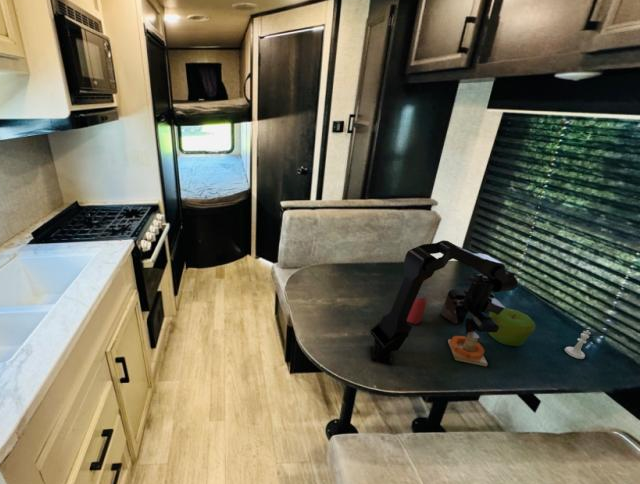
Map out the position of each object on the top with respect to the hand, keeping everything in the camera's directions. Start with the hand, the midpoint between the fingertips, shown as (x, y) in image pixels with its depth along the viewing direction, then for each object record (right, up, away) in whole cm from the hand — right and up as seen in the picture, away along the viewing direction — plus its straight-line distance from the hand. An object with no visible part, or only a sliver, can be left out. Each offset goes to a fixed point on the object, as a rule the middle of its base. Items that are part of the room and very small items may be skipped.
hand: (463, 328), depth 109 cm
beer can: (-10, -1, +15) cm, 18 cm away
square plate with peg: (0, -8, -2) cm, 8 cm away
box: (+5, -1, +15) cm, 16 cm away
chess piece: (+36, -8, -2) cm, 37 cm away
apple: (+18, -5, +4) cm, 19 cm away
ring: (0, -7, -2) cm, 7 cm away
